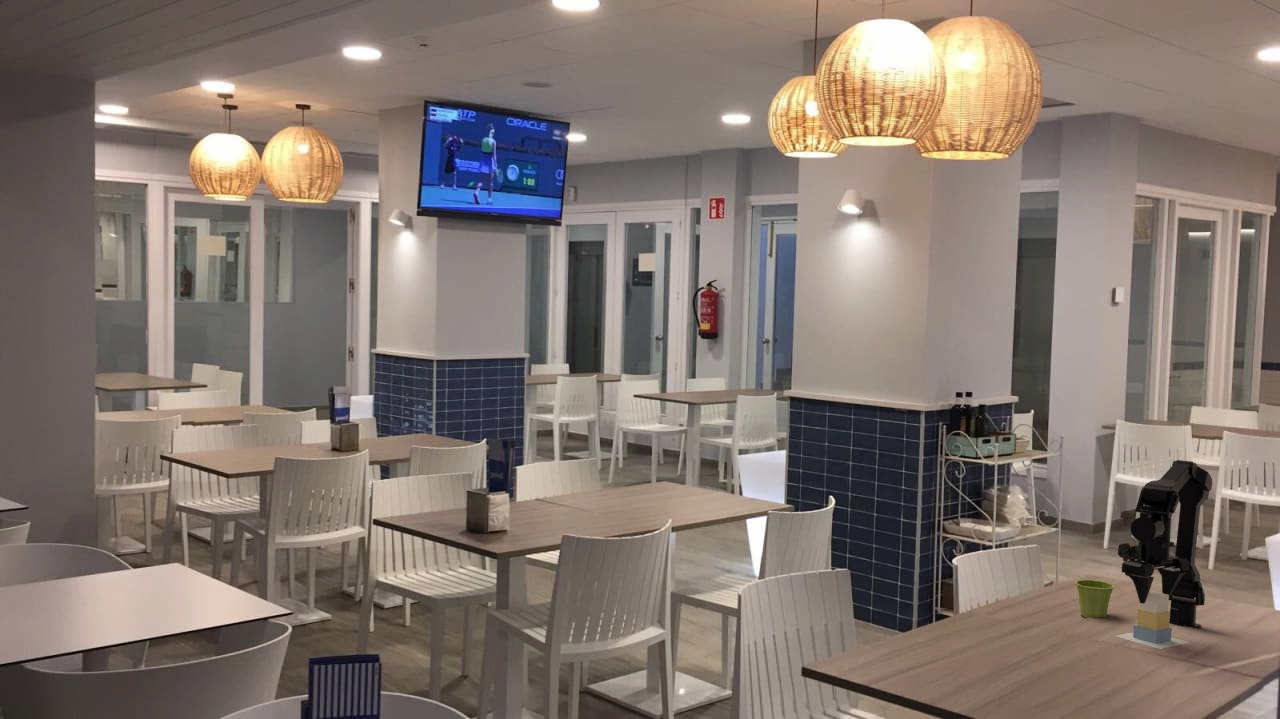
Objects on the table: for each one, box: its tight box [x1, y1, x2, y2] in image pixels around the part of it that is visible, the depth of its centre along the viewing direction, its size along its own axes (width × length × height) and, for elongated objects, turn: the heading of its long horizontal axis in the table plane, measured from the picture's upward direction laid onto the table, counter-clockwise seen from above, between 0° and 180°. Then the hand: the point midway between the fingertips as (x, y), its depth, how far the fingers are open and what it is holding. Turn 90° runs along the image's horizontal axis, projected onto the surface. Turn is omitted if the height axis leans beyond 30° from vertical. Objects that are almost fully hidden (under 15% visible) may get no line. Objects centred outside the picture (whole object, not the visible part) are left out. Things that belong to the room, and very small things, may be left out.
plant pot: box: [1075, 579, 1115, 619], centre depth 296 cm, size 9×9×9 cm
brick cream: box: [1138, 590, 1170, 614], centre depth 273 cm, size 4×4×4 cm
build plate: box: [1115, 631, 1191, 650], centre depth 274 cm, size 12×12×1 cm
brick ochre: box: [1136, 608, 1170, 631], centre depth 273 cm, size 5×5×4 cm
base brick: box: [1132, 624, 1173, 644], centre depth 274 cm, size 6×6×3 cm
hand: (1153, 601), depth 273 cm, fingers open, 9 cm apart
